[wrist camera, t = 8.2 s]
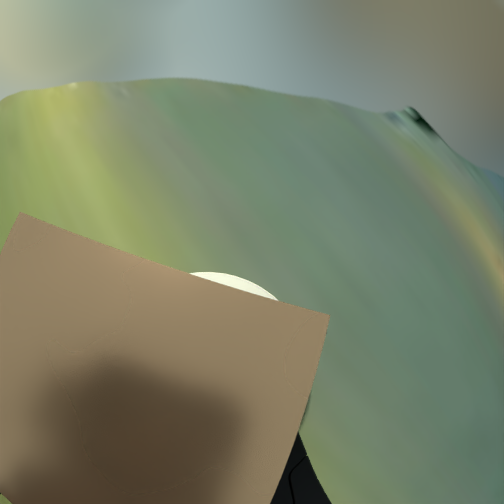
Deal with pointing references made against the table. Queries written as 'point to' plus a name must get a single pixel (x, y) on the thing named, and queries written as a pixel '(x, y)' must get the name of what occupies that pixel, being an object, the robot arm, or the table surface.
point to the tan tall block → (142, 378)
